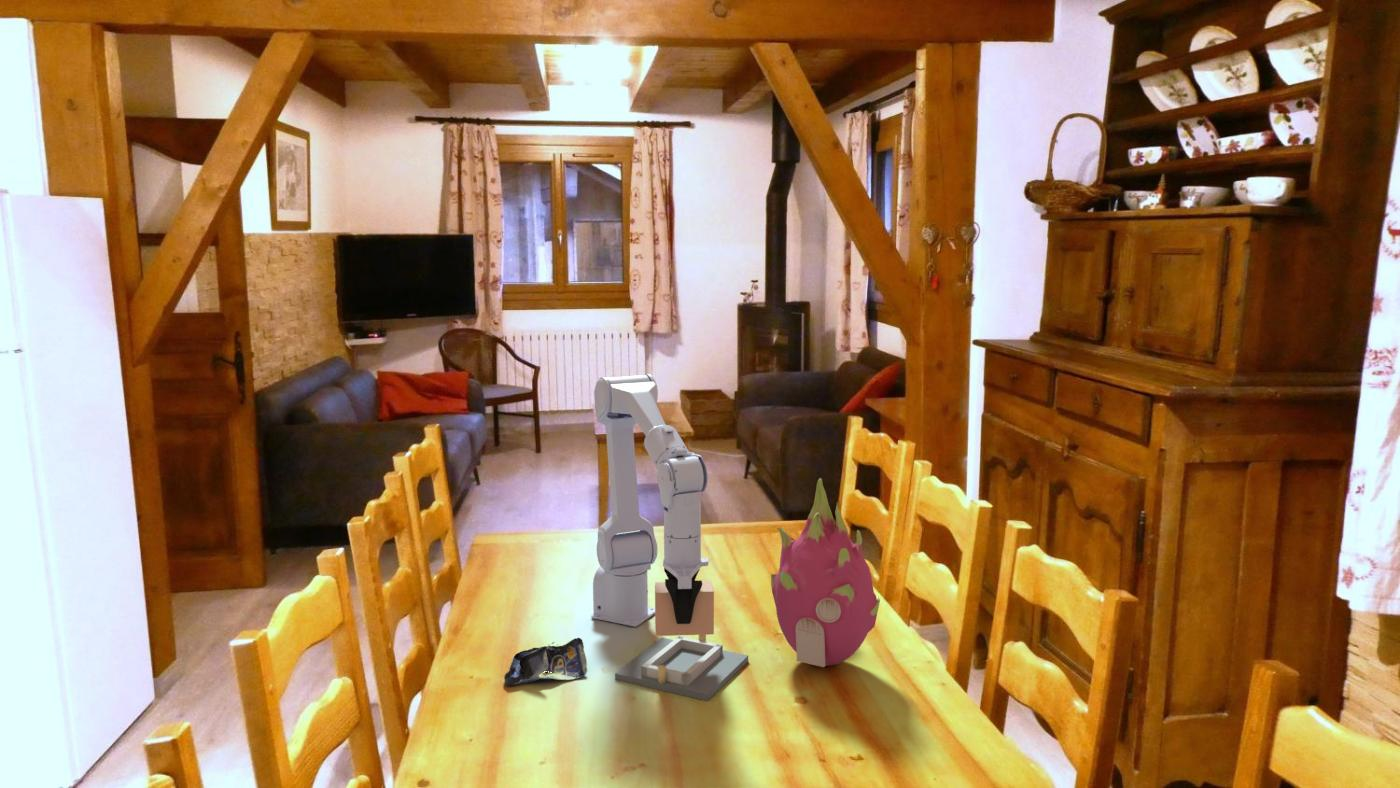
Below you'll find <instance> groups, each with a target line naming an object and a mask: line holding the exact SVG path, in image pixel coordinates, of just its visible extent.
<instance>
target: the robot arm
mask: <svg viewBox="0 0 1400 788" xmlns="http://www.w3.org/2000/svg"><path fill="white" fill-rule="evenodd" d="M593 391H594V392H593V396H594V410H595V417H596V422H597V423H599V424H601V425H604V429H605V434H606V435H605V436H606V450H607V451H606V452H607V463H608V464H607V465H608V478H609V489H610V490H609V492H610V503H611V505H610V506H611V516H610V517H608V519H606V521H604V522H603V523H602V524H601V525H600V526H599V527H598V530H597V542H596V557H597V561H598V564H599V567H598V568H597V570H596V571H595V573H594V577H593V582H592V600H593V605H592V606H593V607H592V608H593V614H591V616H590V617H591V618H592V619H595V620H601V621H604V622H610V623H615V624H619V625H624V626H630V627H638V626H639V625H641V624H643V623H644V622H645V621H646V620H648V619H650V617H652V616H654V615H655V608H652V607H649V605H648V604H649V602H648V601H649V599H648V597H649V595H648V593H649V591H648V589H649V588H648V586H649V585H648V571H649V570H650V571H651V568H652V567H651V566H652V565H653V564H654V563H655V561H656V559H657V558H658V553H659V552H658V543H657V539H656V537H655V531H654V530H655V529H654V526H653V524H652V522H651V521H649V520H648V519H646V518H645V517H643V516H642V515H640V507H639V505H640V504H639V493H638V491H639V489H638V480H637V477H638V476H637V466H636V465H637V463H636V451H635V437H634V436H635V434H634V428H635V426H636V424H637V426H638V427H639V429H640V430H641V431H642V433H643V434H644V436H645V438H644V442H643V446H644V448H645V450H646V452H647V454H648V456H649V457H650V459H651V461H652V462H653V465H654V466H655V468H656V470H657V473H656V480H657V486H658V488H659V496H660V497H659V499H660V504H661V505H662V506H663V555H664V556H663V557H664V558H663V559H662V566H663V570H664V573H665V575H666V577H667V578H665V579H664V582H665V586H666V588H667V590H668V592H669V594H670V596H671V599H672V602H673V607H674V613H675V618H676V622H677V624H690V623H691V619H692V615H693V609H694V604H695V600H696V597H697V595H698V593H699V591H700V589H701V587H702V581H703V580H700V579H699V580H696V579H697V576H698V574H699V571H700V570H701V568H702V567H708V566H709V558H708V557H702V521H701V520H702V499H701V498H702V492H704V491H706V488H707V487H708V480H709V477H708V476H709V475H708V468H707V464H706V462H705V460H704V459H703V456H702V455H701V454H696V453H695V452H693V451H692V452H691V451H689V449H688V448H687V446H686V444H685V443H684V441H683V439H682V438H681V436H680V434H679V432H678V431H677V429H676V427H674V426H672V425H669V424H666V423H665V421H664V418H663V416H662V414H661V412H660V409H659V407H658V398H659V390H658V385H657V382H656V379H655V378H654V377H653V375H652V374H650V373H645V374H639V375H626V376H625V375H624V376H608V377H607V376H600V377H599V378H598V380H597V381H596V383H595V386H594V389H593Z"/></svg>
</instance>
